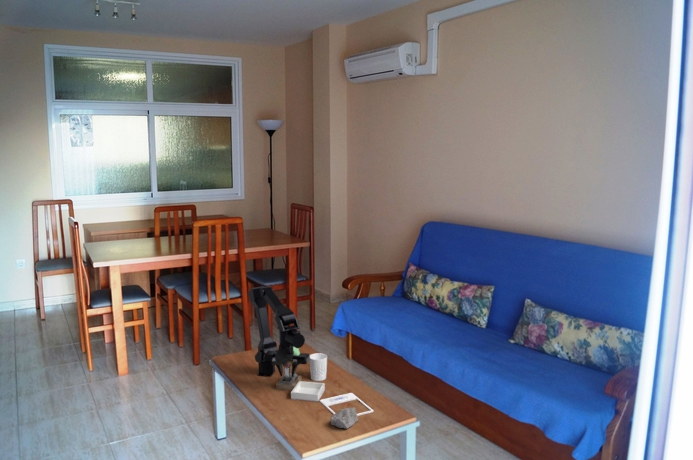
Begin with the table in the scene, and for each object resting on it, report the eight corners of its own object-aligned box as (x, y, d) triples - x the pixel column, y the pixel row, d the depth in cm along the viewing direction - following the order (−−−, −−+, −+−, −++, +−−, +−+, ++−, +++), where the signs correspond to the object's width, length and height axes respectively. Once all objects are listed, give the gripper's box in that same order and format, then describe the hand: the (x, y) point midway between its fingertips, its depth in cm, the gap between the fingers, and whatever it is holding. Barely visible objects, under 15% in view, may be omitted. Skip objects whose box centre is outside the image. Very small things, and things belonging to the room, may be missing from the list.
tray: (291, 399, 227) (290, 392, 227) (299, 387, 238) (299, 381, 238) (317, 401, 225) (317, 394, 225) (324, 390, 236) (324, 383, 235)
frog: (281, 355, 259) (300, 357, 259) (285, 336, 266) (304, 338, 266) (281, 367, 268) (300, 369, 268) (285, 349, 275) (303, 351, 275)
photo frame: (351, 392, 232) (373, 410, 217) (351, 394, 233) (373, 412, 217) (319, 399, 226) (339, 418, 210) (319, 402, 226) (339, 421, 210)
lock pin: (282, 383, 237) (282, 365, 235) (284, 380, 240) (284, 362, 239) (289, 384, 236) (289, 366, 235) (292, 381, 239) (291, 363, 238)
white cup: (328, 374, 252) (328, 353, 250) (326, 382, 244) (325, 360, 242) (311, 374, 252) (310, 352, 251) (308, 381, 245) (307, 359, 243)
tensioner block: (284, 379, 247) (284, 370, 246) (301, 381, 245) (301, 372, 244) (276, 389, 237) (276, 380, 236) (294, 391, 235) (294, 382, 234)
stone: (327, 425, 207) (327, 409, 206) (346, 416, 214) (346, 401, 213) (342, 432, 201) (342, 417, 200) (361, 423, 208) (361, 408, 207)
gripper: (258, 346, 229) (259, 382, 232) (302, 349, 225) (302, 386, 228) (267, 337, 240) (268, 371, 242) (309, 340, 236) (310, 375, 239)
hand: (287, 376), depth 238 cm, fingers open, 5 cm apart
